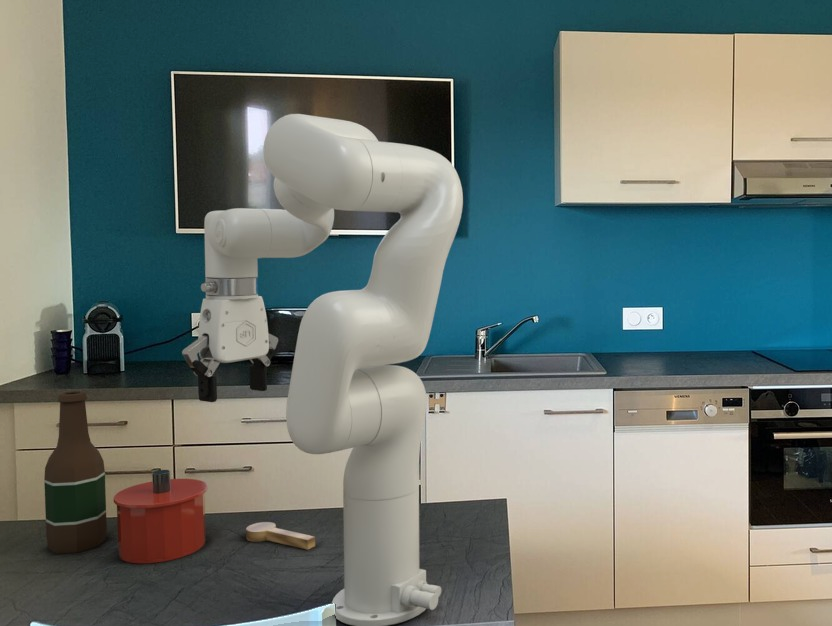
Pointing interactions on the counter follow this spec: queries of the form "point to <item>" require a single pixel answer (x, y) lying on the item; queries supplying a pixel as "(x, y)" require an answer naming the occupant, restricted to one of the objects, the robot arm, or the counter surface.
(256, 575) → the counter surface
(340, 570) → the counter surface
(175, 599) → the counter surface
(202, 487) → the pot lid
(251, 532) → the spoon
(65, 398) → the beer bottle
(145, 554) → the pot
